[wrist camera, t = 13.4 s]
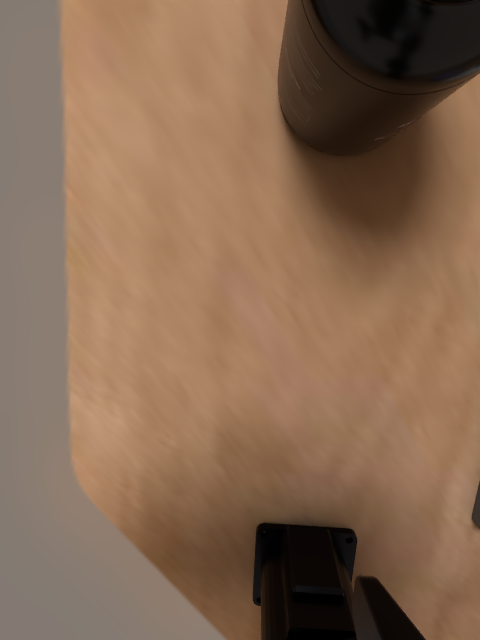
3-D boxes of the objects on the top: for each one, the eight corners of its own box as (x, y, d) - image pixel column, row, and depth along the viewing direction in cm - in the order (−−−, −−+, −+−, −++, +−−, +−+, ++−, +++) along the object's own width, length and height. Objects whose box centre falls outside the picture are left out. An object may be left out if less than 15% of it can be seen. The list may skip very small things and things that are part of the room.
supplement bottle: (394, 171, 18) (664, 44, 6) (263, 143, 18) (276, -43, 6) (440, 15, 16) (944, -591, 4) (296, -17, 16) (406, -715, 4)
